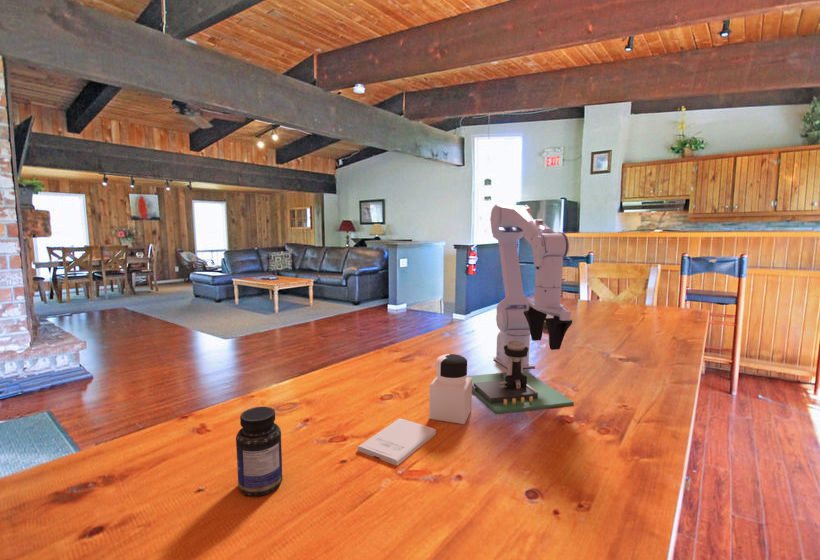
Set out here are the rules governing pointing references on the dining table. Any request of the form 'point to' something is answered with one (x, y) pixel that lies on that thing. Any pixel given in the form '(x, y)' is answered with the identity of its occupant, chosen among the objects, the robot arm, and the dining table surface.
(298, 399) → the dining table surface
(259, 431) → the pill bottle
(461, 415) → the medicine bottle
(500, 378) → the circuit board
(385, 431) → the external hard drive
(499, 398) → the pad
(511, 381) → the push button
